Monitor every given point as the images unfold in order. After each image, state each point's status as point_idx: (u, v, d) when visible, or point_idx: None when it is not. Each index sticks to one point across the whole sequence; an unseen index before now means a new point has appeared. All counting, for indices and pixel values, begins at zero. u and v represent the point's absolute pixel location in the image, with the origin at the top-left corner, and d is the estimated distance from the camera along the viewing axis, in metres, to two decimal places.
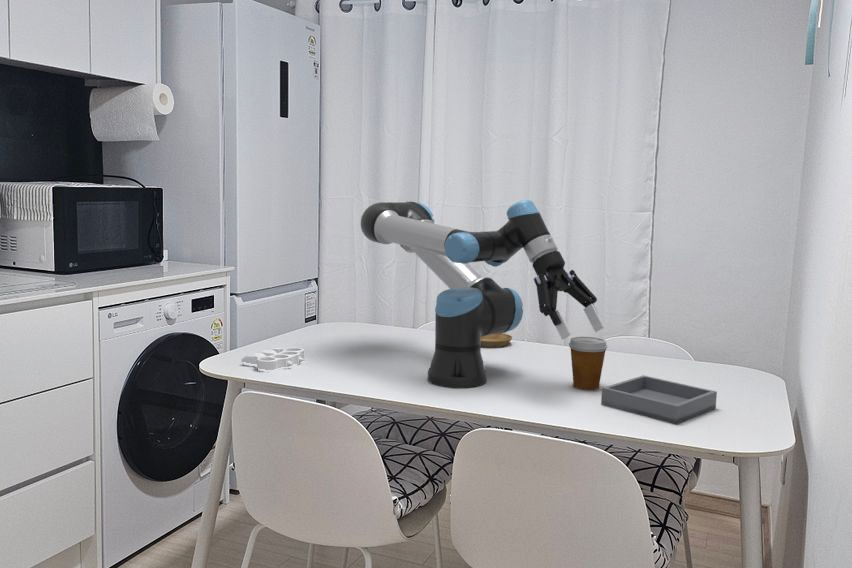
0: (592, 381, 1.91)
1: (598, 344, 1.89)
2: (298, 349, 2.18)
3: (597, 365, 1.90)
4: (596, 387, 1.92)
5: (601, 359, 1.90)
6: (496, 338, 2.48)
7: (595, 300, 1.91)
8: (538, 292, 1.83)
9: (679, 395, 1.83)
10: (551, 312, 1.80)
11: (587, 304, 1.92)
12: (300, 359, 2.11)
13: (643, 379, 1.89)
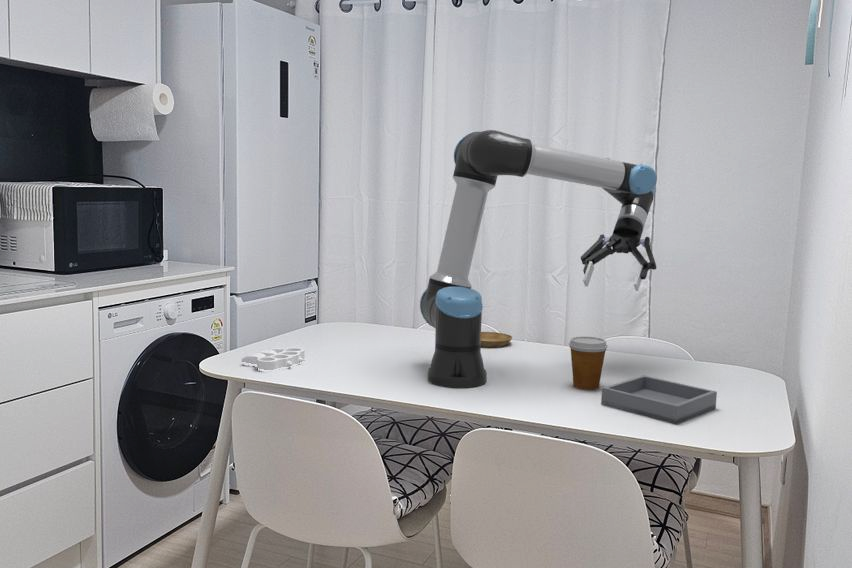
0: (592, 381, 1.91)
1: (598, 344, 1.89)
2: (298, 349, 2.18)
3: (597, 365, 1.90)
4: (596, 387, 1.92)
5: (601, 359, 1.91)
6: (496, 338, 2.48)
7: None
8: (650, 249, 2.04)
9: (679, 395, 1.83)
10: (648, 269, 2.01)
11: None
12: (300, 359, 2.11)
13: (643, 379, 1.89)
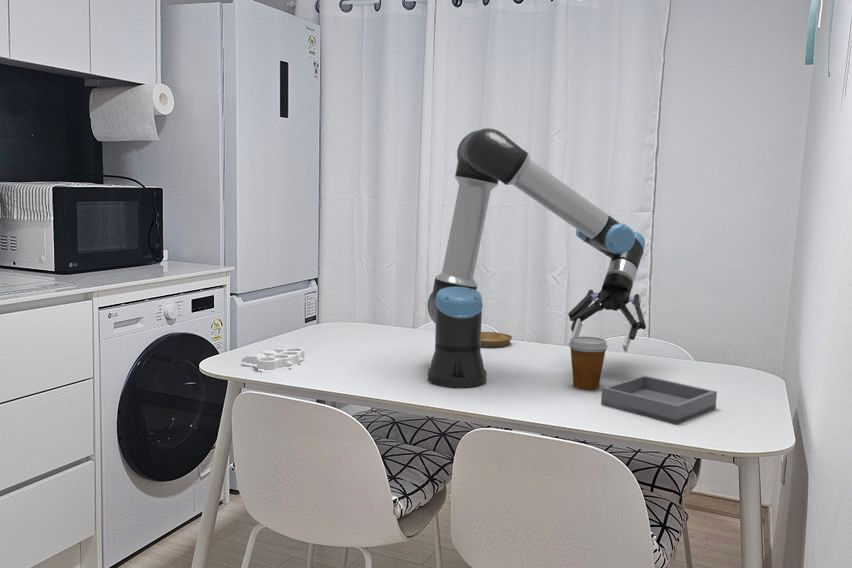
0: (592, 381, 1.91)
1: (598, 344, 1.89)
2: (298, 349, 2.18)
3: (597, 365, 1.90)
4: (596, 387, 1.92)
5: (601, 359, 1.91)
6: (496, 338, 2.48)
7: None
8: None
9: (679, 395, 1.83)
10: (637, 329, 1.96)
11: None
12: (300, 359, 2.11)
13: (643, 379, 1.89)
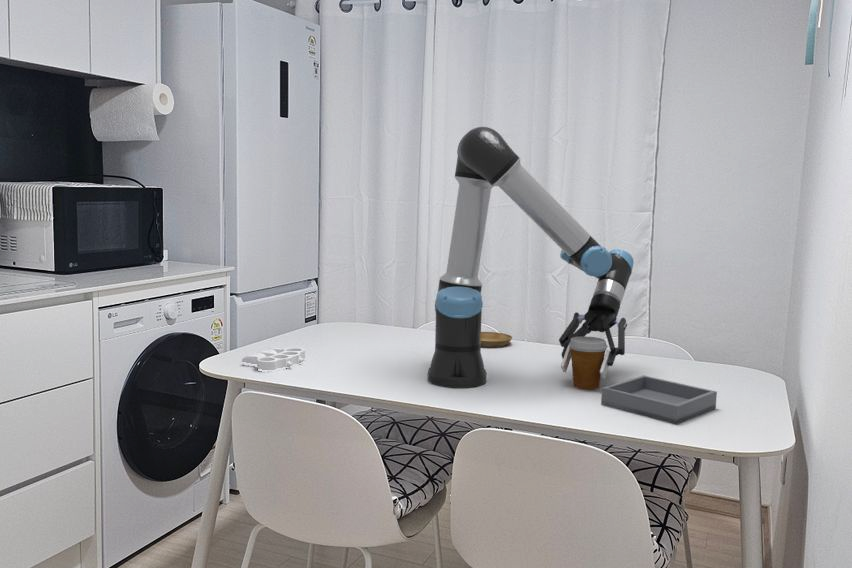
0: (592, 381, 1.91)
1: (598, 344, 1.89)
2: (299, 349, 2.18)
3: (597, 365, 1.90)
4: (596, 387, 1.92)
5: (601, 359, 1.91)
6: (496, 338, 2.48)
7: None
8: (623, 332, 1.93)
9: (679, 395, 1.83)
10: (615, 355, 1.91)
11: None
12: (300, 359, 2.11)
13: (643, 379, 1.89)
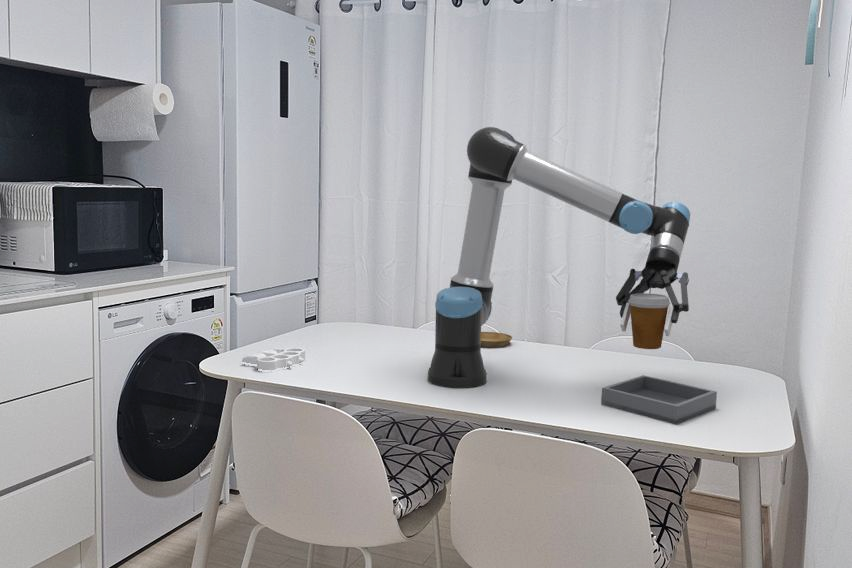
0: (654, 339, 1.78)
1: (661, 299, 1.76)
2: (299, 349, 2.18)
3: (660, 322, 1.77)
4: (659, 346, 1.79)
5: (664, 316, 1.77)
6: (496, 338, 2.48)
7: None
8: (686, 287, 1.80)
9: (679, 395, 1.83)
10: (679, 311, 1.78)
11: (628, 303, 1.84)
12: (300, 359, 2.11)
13: (643, 379, 1.89)
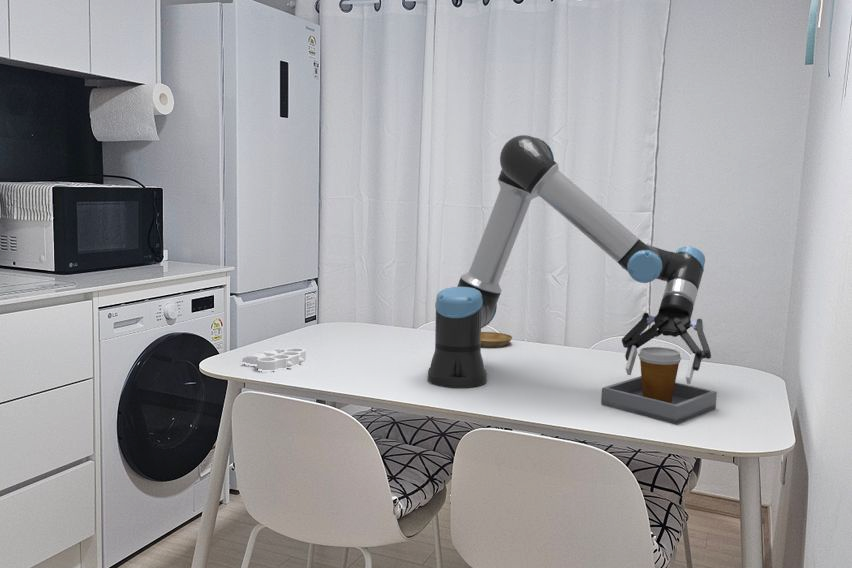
0: (665, 396, 1.75)
1: (672, 356, 1.73)
2: (300, 349, 2.18)
3: (671, 378, 1.74)
4: (669, 402, 1.76)
5: (674, 372, 1.75)
6: (496, 338, 2.48)
7: None
8: None
9: (679, 395, 1.83)
10: (701, 358, 1.75)
11: (634, 346, 1.82)
12: (301, 360, 2.11)
13: None
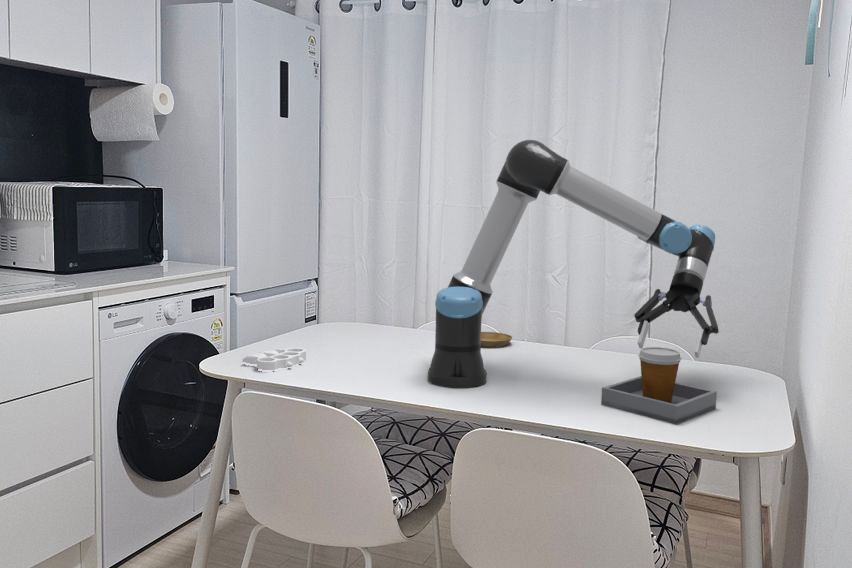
0: (665, 396, 1.75)
1: (672, 356, 1.73)
2: (300, 350, 2.18)
3: (671, 378, 1.74)
4: (669, 402, 1.76)
5: (674, 372, 1.75)
6: (496, 338, 2.48)
7: None
8: (712, 310, 1.88)
9: (679, 395, 1.83)
10: (709, 333, 1.86)
11: (646, 321, 1.94)
12: (301, 360, 2.10)
13: None
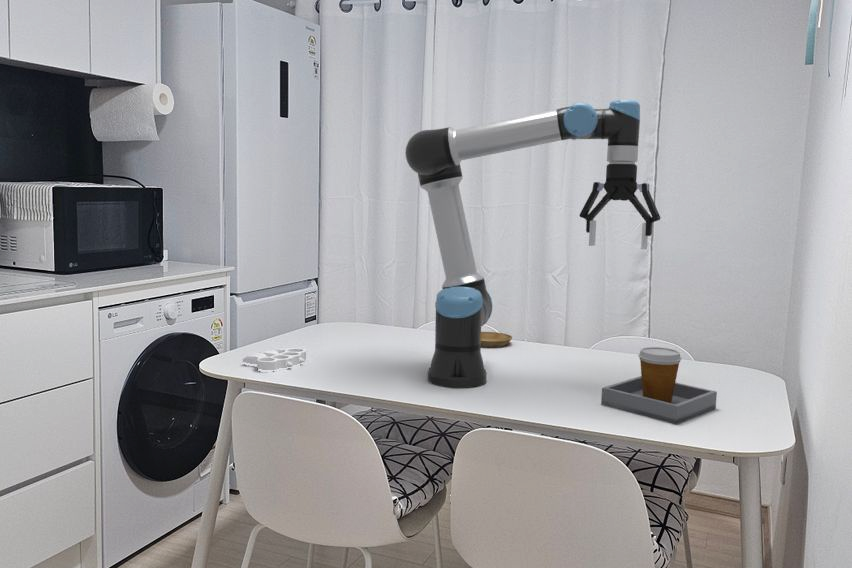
0: (665, 396, 1.75)
1: (672, 356, 1.73)
2: (300, 350, 2.18)
3: (671, 378, 1.74)
4: None
5: (675, 373, 1.75)
6: (496, 338, 2.48)
7: None
8: (650, 199, 1.91)
9: (679, 395, 1.83)
10: (652, 223, 1.92)
11: (591, 218, 2.00)
12: (301, 360, 2.10)
13: None
